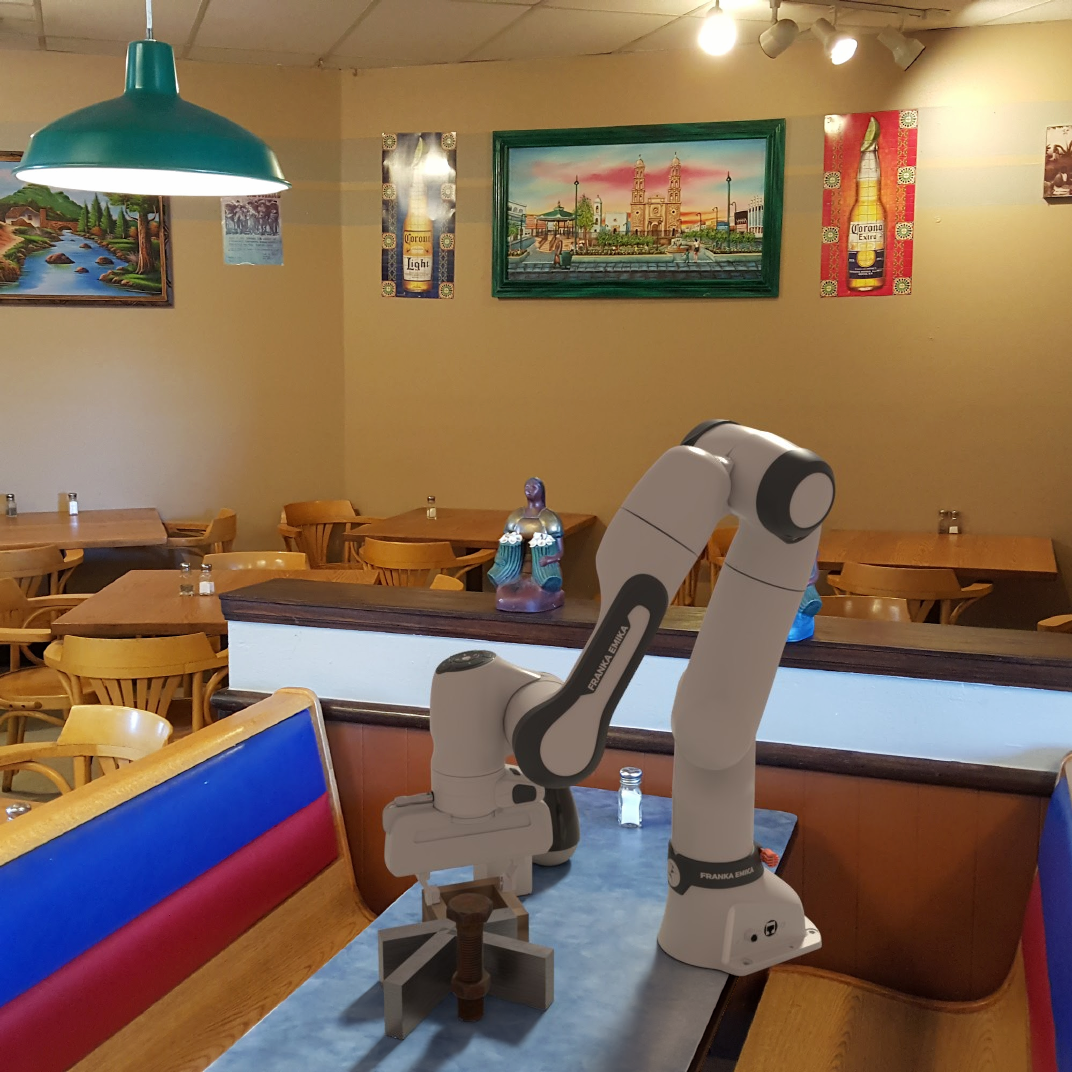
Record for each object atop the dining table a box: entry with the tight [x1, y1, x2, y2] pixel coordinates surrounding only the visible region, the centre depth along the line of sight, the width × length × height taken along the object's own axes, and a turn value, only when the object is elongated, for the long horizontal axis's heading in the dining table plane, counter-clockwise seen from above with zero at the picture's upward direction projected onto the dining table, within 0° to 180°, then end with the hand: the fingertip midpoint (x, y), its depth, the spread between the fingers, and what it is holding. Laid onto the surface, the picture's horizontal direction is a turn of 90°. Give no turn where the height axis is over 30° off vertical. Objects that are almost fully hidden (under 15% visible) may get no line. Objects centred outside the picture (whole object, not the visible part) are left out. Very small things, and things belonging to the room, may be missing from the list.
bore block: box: [421, 876, 530, 943], centre depth 158 cm, size 12×12×5 cm
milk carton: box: [472, 856, 533, 897], centre depth 171 cm, size 7×7×19 cm
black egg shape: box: [532, 787, 581, 867], centre depth 181 cm, size 10×10×15 cm
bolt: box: [446, 893, 493, 1023], centre depth 137 cm, size 6×5×15 cm
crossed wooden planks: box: [377, 907, 555, 1040], centre depth 143 cm, size 22×14×7 cm, turn 110°
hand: (470, 896), depth 136 cm, fingers open, 8 cm apart
